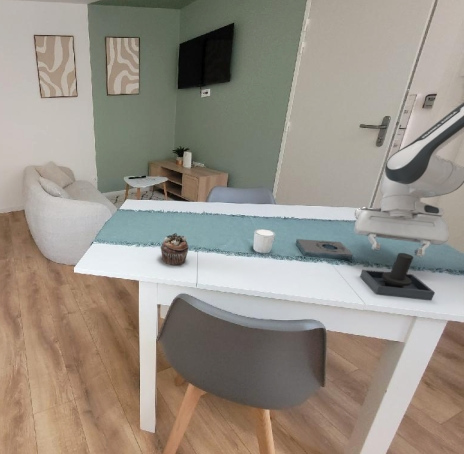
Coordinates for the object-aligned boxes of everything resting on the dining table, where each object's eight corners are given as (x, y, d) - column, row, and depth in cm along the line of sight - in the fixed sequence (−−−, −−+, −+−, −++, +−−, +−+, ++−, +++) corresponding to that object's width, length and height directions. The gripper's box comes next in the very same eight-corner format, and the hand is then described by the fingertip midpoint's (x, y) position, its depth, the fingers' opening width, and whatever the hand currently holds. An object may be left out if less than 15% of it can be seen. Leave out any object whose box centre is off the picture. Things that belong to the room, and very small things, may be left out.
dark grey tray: (409, 281, 86) (412, 274, 85) (431, 300, 78) (435, 292, 77) (359, 276, 89) (362, 269, 88) (376, 294, 81) (378, 286, 80)
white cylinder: (272, 247, 109) (276, 230, 106) (271, 255, 104) (275, 237, 101) (252, 244, 112) (255, 227, 110) (250, 251, 107) (253, 234, 104)
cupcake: (192, 257, 105) (194, 232, 101) (180, 269, 98) (181, 243, 94) (168, 251, 111) (169, 227, 107) (155, 261, 104) (155, 236, 100)
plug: (399, 281, 85) (412, 251, 81) (413, 293, 80) (427, 261, 76) (375, 279, 87) (386, 249, 83) (386, 290, 81) (398, 259, 78)
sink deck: (338, 246, 107) (340, 241, 106) (351, 259, 98) (353, 254, 97) (295, 243, 111) (296, 238, 110) (304, 256, 102) (305, 251, 101)
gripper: (358, 201, 91) (355, 242, 87) (452, 210, 81) (453, 256, 78) (352, 210, 97) (348, 249, 93) (439, 219, 87) (439, 262, 83)
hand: (397, 252), depth 85 cm, fingers open, 8 cm apart
